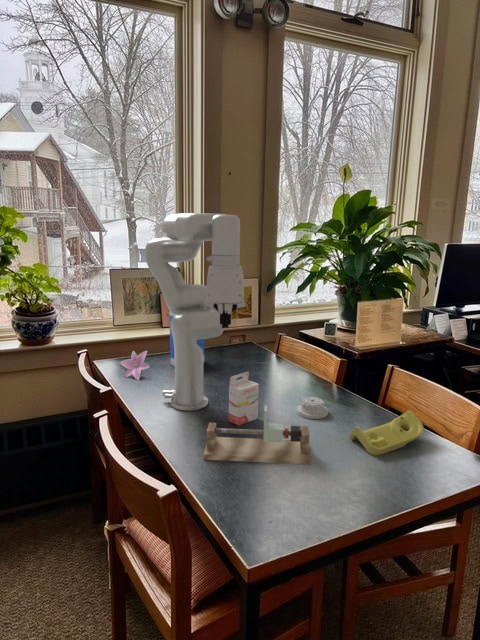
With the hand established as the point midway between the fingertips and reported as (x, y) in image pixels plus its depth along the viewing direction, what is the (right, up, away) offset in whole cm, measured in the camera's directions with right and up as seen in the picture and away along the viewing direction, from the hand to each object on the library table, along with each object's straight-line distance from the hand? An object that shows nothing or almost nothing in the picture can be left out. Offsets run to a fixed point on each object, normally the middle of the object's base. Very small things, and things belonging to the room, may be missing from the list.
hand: (225, 326), depth 131 cm
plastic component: (+46, -33, +2) cm, 57 cm away
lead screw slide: (+9, -34, -4) cm, 35 cm away
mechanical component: (+28, -29, +22) cm, 45 cm away
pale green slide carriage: (+13, -30, -5) cm, 33 cm away
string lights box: (-18, -17, +69) cm, 73 cm away
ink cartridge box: (+5, -30, +16) cm, 34 cm away
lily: (-37, -20, +54) cm, 68 cm away
